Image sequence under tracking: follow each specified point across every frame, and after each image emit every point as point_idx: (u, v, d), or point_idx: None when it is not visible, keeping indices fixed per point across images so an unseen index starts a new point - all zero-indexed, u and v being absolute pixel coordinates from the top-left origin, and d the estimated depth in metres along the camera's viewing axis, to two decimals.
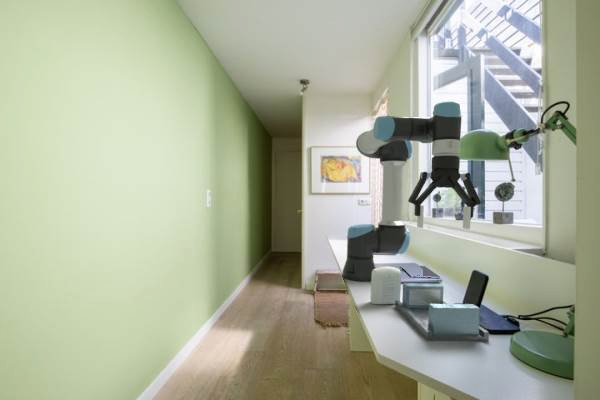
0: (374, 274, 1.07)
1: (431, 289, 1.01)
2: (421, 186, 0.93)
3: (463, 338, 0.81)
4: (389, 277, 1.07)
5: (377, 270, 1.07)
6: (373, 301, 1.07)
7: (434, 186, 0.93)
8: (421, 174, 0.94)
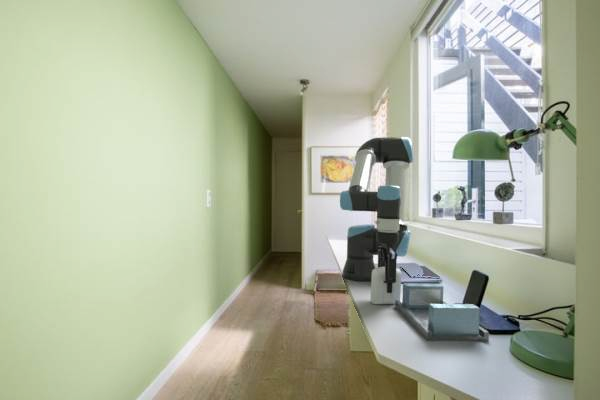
0: (374, 274, 1.07)
1: (431, 289, 1.01)
2: (378, 259, 1.14)
3: (463, 338, 0.81)
4: None
5: (377, 270, 1.07)
6: (373, 301, 1.07)
7: (380, 258, 1.11)
8: None
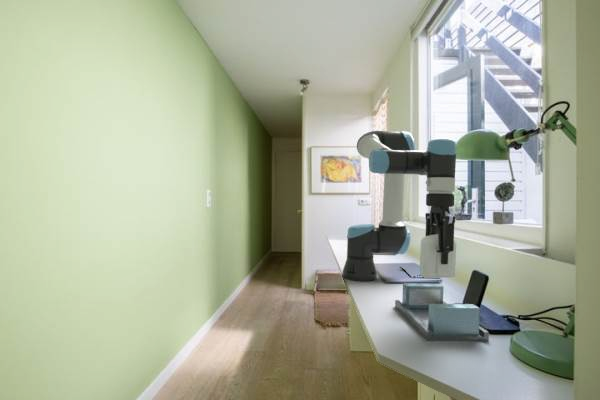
0: (425, 242, 0.91)
1: (431, 289, 1.01)
2: (426, 227, 0.98)
3: (463, 338, 0.81)
4: None
5: (429, 238, 0.91)
6: (424, 274, 0.91)
7: (430, 225, 0.95)
8: None
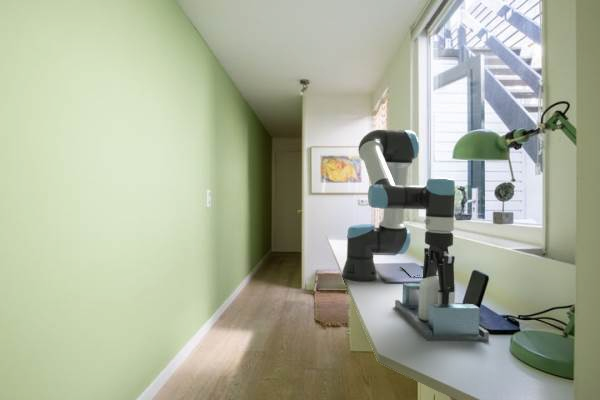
0: (423, 285, 0.91)
1: None
2: (424, 262, 0.99)
3: (463, 338, 0.81)
4: None
5: (427, 280, 0.91)
6: (422, 317, 0.91)
7: (428, 262, 0.96)
8: None
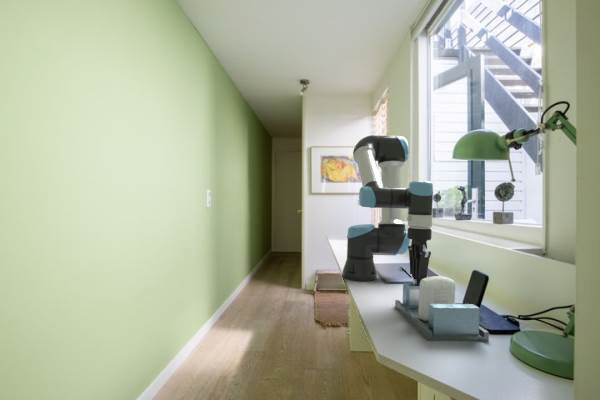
0: (423, 285, 0.91)
1: None
2: (410, 258, 1.11)
3: (463, 338, 0.81)
4: (442, 289, 0.91)
5: (427, 280, 0.91)
6: (422, 317, 0.91)
7: (412, 256, 1.08)
8: None
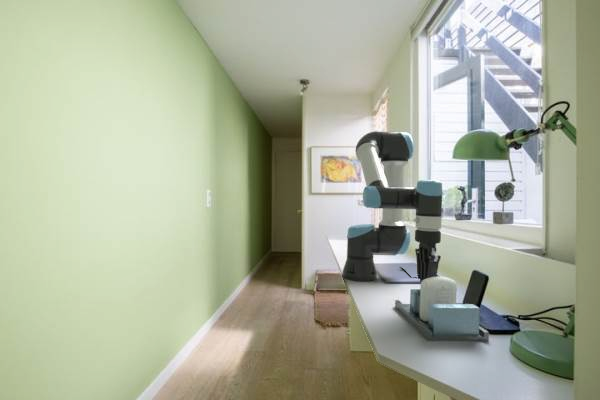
0: (425, 286, 0.91)
1: None
2: (417, 261, 1.04)
3: (463, 338, 0.81)
4: (443, 289, 0.90)
5: (428, 281, 0.91)
6: (424, 317, 0.91)
7: (420, 260, 1.02)
8: None
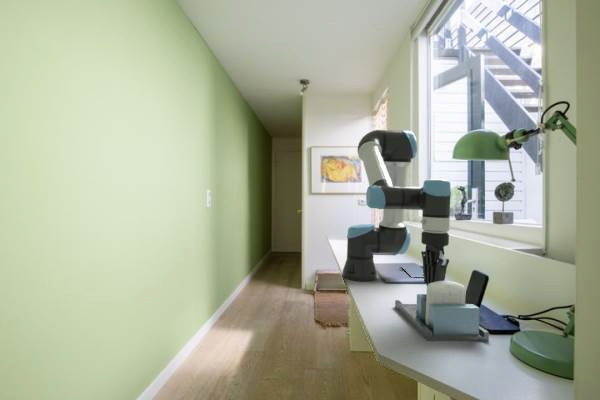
0: (430, 290, 0.87)
1: None
2: (423, 265, 1.00)
3: (463, 338, 0.81)
4: (450, 294, 0.86)
5: (434, 285, 0.87)
6: None
7: (427, 263, 0.97)
8: None
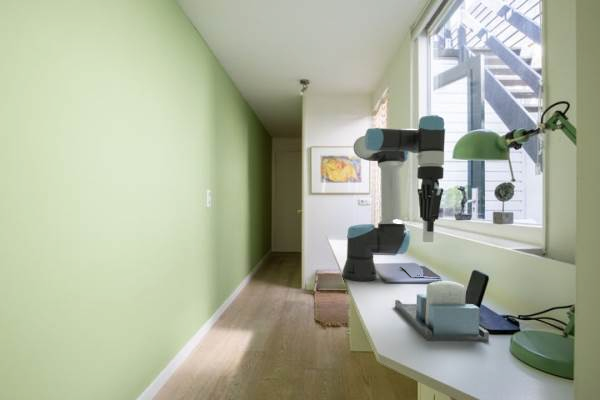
0: (430, 290, 0.87)
1: None
2: (419, 201, 1.04)
3: (463, 338, 0.81)
4: (450, 294, 0.86)
5: (434, 285, 0.87)
6: None
7: (422, 198, 1.01)
8: None
